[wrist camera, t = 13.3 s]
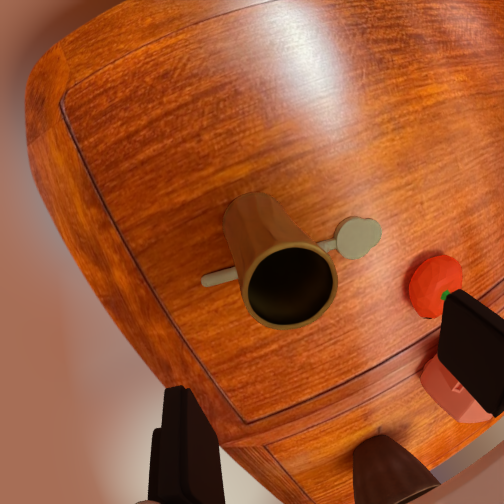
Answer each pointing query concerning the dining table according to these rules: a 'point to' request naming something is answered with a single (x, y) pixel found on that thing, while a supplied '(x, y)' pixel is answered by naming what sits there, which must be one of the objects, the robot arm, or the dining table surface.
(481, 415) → the teapot
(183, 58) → the dining table surface
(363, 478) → the flower pot
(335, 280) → the vase
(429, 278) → the pumpkin
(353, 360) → the dining table surface
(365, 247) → the spoon
